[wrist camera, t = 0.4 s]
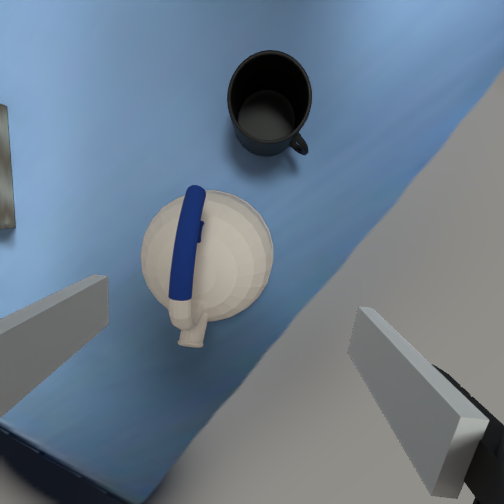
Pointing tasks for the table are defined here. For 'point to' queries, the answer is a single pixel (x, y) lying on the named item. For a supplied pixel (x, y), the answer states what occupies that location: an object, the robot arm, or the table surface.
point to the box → (5, 174)
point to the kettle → (206, 259)
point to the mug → (269, 103)
